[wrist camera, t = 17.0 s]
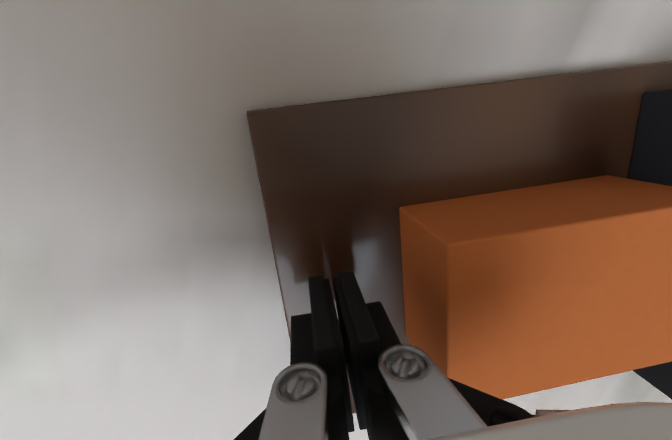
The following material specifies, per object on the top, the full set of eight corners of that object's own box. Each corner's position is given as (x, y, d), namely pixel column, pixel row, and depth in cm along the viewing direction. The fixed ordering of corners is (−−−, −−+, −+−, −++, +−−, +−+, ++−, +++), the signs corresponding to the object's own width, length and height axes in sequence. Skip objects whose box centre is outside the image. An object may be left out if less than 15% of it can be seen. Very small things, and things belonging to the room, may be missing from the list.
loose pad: (405, 334, 14) (447, 412, 10) (398, 206, 12) (447, 244, 9) (587, 299, 15) (687, 359, 11) (607, 174, 13) (734, 196, 9)
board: (305, 412, 16) (306, 424, 15) (247, 111, 11) (245, 110, 11) (729, 322, 18) (743, 329, 17) (820, 44, 13) (843, 41, 13)
